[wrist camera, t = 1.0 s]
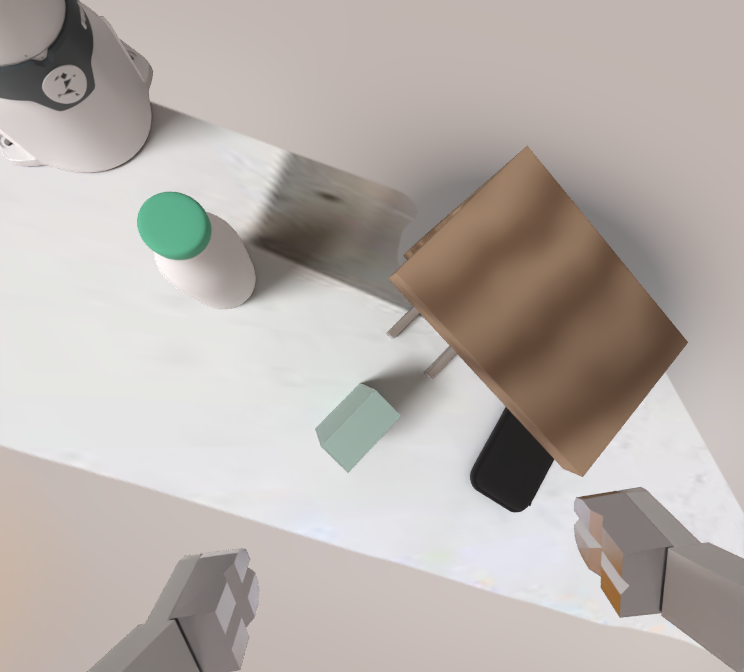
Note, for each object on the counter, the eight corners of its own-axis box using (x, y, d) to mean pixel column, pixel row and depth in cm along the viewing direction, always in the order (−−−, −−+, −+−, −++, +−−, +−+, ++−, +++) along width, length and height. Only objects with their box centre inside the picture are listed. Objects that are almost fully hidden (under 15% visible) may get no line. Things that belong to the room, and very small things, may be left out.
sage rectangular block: (315, 428, 47) (320, 446, 38) (360, 383, 48) (375, 389, 40) (337, 450, 47) (348, 473, 39) (381, 404, 49) (401, 416, 40)
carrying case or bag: (519, 516, 53) (567, 425, 55) (533, 526, 50) (582, 429, 52) (460, 479, 51) (511, 387, 53) (470, 487, 48) (524, 389, 50)
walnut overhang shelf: (344, 311, 48) (395, 272, 25) (418, 241, 51) (527, 145, 27) (447, 419, 51) (582, 476, 27) (512, 346, 53) (688, 342, 30)
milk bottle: (268, 269, 46) (252, 209, 27) (234, 322, 45) (190, 299, 26) (212, 234, 45) (152, 144, 26) (175, 287, 44) (83, 236, 25)
